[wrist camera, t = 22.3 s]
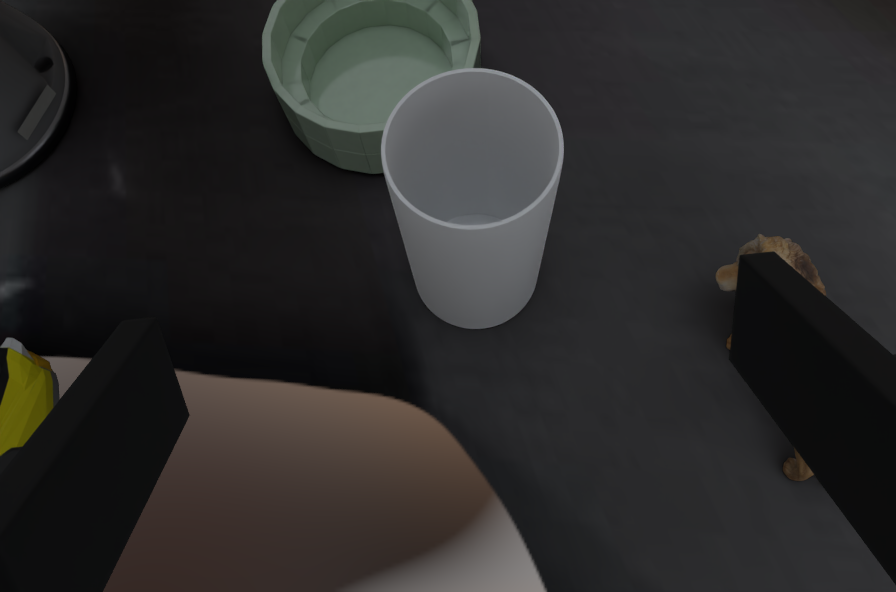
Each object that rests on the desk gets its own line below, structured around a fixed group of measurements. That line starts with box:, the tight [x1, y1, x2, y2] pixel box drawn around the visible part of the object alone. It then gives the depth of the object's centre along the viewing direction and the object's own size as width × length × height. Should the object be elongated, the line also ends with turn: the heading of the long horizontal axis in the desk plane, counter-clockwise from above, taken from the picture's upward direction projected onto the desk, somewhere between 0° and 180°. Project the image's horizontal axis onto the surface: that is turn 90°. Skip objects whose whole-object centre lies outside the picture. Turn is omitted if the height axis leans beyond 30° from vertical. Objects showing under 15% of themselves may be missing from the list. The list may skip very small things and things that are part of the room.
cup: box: [381, 68, 564, 329], centre depth 38 cm, size 8×8×16 cm
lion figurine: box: [716, 234, 826, 481], centre depth 38 cm, size 15×5×9 cm, turn 25°
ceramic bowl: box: [262, 0, 481, 174], centre depth 48 cm, size 14×14×6 cm
